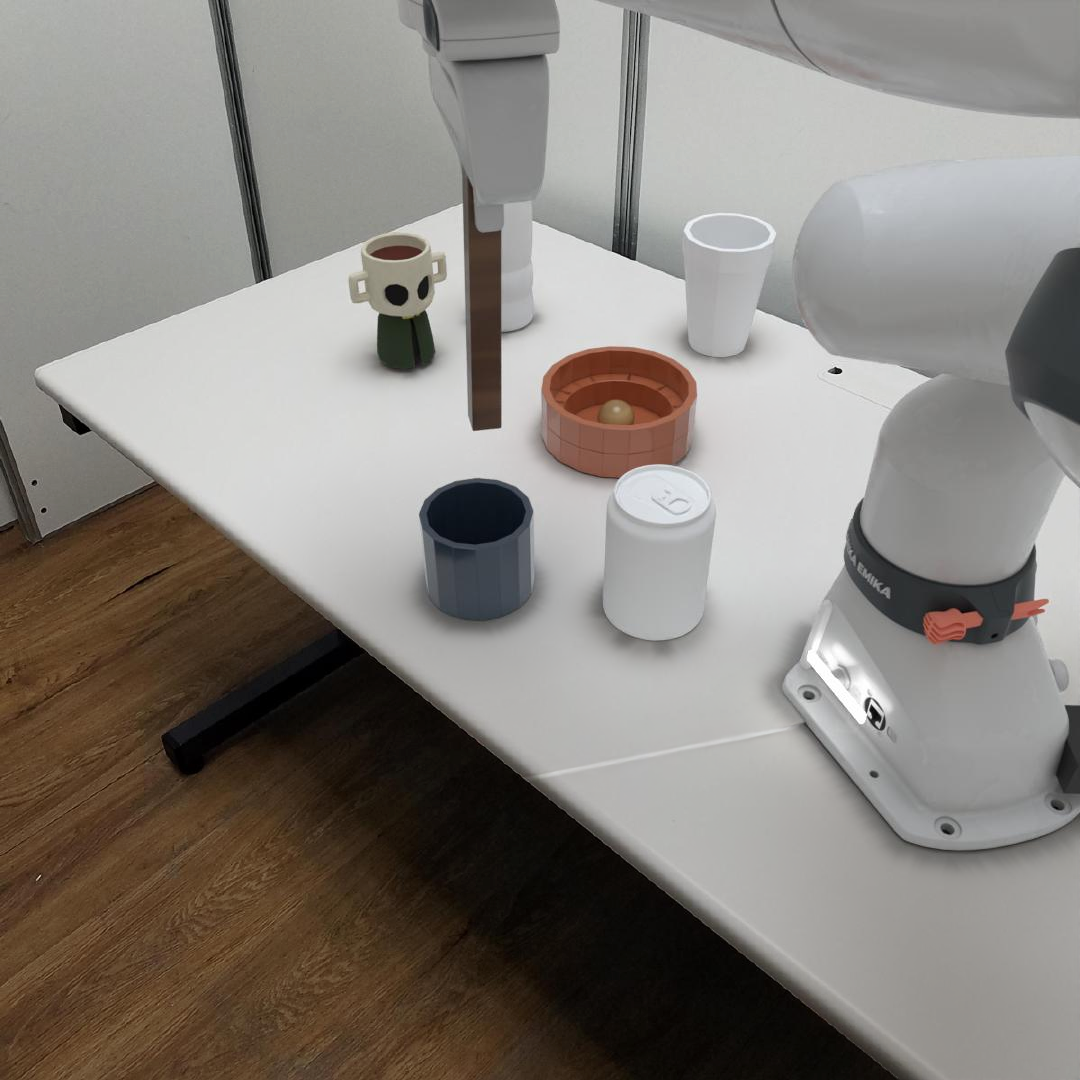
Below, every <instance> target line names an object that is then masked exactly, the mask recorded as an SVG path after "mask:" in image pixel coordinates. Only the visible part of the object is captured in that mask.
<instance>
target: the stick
mask: <svg viewBox="0 0 1080 1080" xmlns="http://www.w3.org/2000/svg"><path fill="white" fill-rule="evenodd" d="M461 182H462V183H461V184H462V185H461V187H462V189H461V190H462V222H463V227H462V229H463V231H462V232H463V265H464V266H463V267H464V269H463V270H464V272H463V273H464V301H465V302H464V306H465V307H464V309H465V312H464V313H465V346H466V347H465V349H466V351H465V352H466V354H465V355H466V388H467V389H466V391H467V392H466V393H467V417H468V420H469V423H470V427H471V429H472V431H473V432H478V431H487V430H497V429H498V430H499V429H502V425H503V424H502V421H503V419H502V413H503V412H502V401H503V400H502V399H503V398H502V394H503V393H502V391H503V390H502V386H503V385H502V332H501V230H499V231H493V232H483V233H482V232H480V231H478V229H477V227H476V225H475V222H474V220H473V208H472V198H473V187H472V185H471V182H470V180H469V178H468V176H467V173H466V171H465V169H464V167H463V164H462V172H461Z"/></svg>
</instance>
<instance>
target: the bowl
mask: <svg viewBox="0 0 1080 1080" xmlns="http://www.w3.org/2000/svg"><path fill="white" fill-rule="evenodd" d="M540 391H541V393H540V394H541V397H540V399H541V400H540V402H541V406H540V407H541V438H542V440H543V443H544V445H545V448H546V450H547V451H548V452H549V453H550V454H551V455H552V456H553V457H554V458H555V459H556V460H557V461H558V462H560V463H561V464H564V465H565V466H568V467H570V468H572V469H574V470H575V471H578V472H581V473H585V474H589V475H593V476H597V477H600V478H601V477H602V478H617V479H618V478H619V479H620V478H621V477H622V476H623V475H624V474H625V473H627V472H629V471H631V470H633V469H635V468H638V467H642V466H647V465H658V464H660V465H671V466H675V464H676V463H677V462H679V461H680V460H681V459H682V458H684V457H685V456H686V455H687V453H688V451H689V449H690V448H691V446H692V444H693V439H694V430H695V420H696V412H697V411H696V410H697V403H698V402H697V401H698V400H697V399H698V387H697V381H696V380H695V378H694V377H693V374H692V373H691V372H690V370H689V369H688V368H687V367H685V366H684V365H682V364H681V363H680V362H678V360H675V359H674V358H672V357H669V356H668V355H665V354H662V353H660V352H657V351H655V350H650V349H645V348H640V347H636V346H635V347H634V346H615V345H614V346H612V345H609V346H608V345H607V346H601V347H600V346H599V347H593V348H586V349H583V350H580V351H578V352H574V353H571V354H568V355H566V356H565V357H563V358H561V359H560V360H558V361H556V362H555V363H554V364H552V365H551V366H550V367H549V369H548V370H547V371H546V373H545V374H544V375H543V377H542V383H541V389H540ZM611 400H622V401H624V402H626V403H627V404H629V405H630V407H631V408H632V410H633V412H634V416H635V420H634V425H615V424H602V423H598V421H597V416H598V412H599V410H600V408H601V407H602V406H603V405H604V404H605V403H606V402H608V401H611Z"/></svg>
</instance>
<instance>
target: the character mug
mask: <svg viewBox="0 0 1080 1080" xmlns="http://www.w3.org/2000/svg"><path fill="white" fill-rule="evenodd" d="M360 257H361V264H362V265H361V266H362V270H360V271H357V272H353V273H351V274H349V276H348V288H349V294H350V295H349V296H350V301H351V302H352V304H362V303H365V302H368V304H369V305H370V308H371V309H372V310H374V311H375V312H377V313H378V315H377V324H376V325H377V326H376V327H377V328H376V353H377V356H378V359H379V360H380V361H381V362H382V363H384V365H386V366H387V367H391V368H395V369H400V370H401V369H402V370H403V369H413V368H415V367H416V366H415V365H416V364H415V360H416V359H418V358H420V360H421V365H426V364H428V363H429V362H431V361H432V360H433V359H434V357H435V355H436V346H435V341H434V336H433V332H432V331H433V330H432V328H431V322H430V319H429V316H428V313H427V312H428V311H427V308H429V307H430V306H431V304H432V303H433V300H434V296H435V293H436V292H435V290H436V289H435V284H438V283H441V282H444V281H446V280H447V277H448V271H447V269H448V268H447V256H446V254H445V251H436V252H432V247H431V244H430V242H429V240H428V239H427V237H424V236H422V235H420V234H416V233H412V232H401V231H400V232H397V231H396V232H388V233H381V234H378V235H375V236H373V237H370V238H369V239H367V240H366V241H365V242H363V244H362V246H361V248H360ZM436 262H437V273H434V266H433V264H434V263H436ZM362 281H364V288H365V291H363V292H360V287H359V282H362Z"/></svg>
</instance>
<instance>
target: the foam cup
mask: <svg viewBox="0 0 1080 1080" xmlns="http://www.w3.org/2000/svg"><path fill="white" fill-rule="evenodd" d="M776 241H777V232H776V230H775V228H774V227H773V226H772V224H770V223H768V222H766V221H765V220H762V219H760V218H758V217H755V216H750V215H746V214H742V213H732V212H730V213H729V212H715V213H709V214H703V215H698V216H697V217H695V218H693V219H691V220H688V221H687V223H686V225H685V227H684V229H683V234H682V246H681V252H682V254H683V265H684V283H685V301H686V302H685V305H686V321H687V323H686V325H687V336H688V343H689V346H690V348H691V349H692V350H694V351H695V352H697V353H698V354H701V355H704V356H708V357H711V358H728V357H732V356H737V355H738V354H740V353H742V352H743V351H745V348H746V345H747V341H748V339H749V335H750V332H751V328H752V324H753V321H754V318H755V315H756V311H757V307H758V304H759V300H760V297H761V292H762V289H763V286H764V282H765V279H766V275H767V272H768V268H769V265H770V264H771V262H772V259H773V257H774V253H775V246H776Z"/></svg>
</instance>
